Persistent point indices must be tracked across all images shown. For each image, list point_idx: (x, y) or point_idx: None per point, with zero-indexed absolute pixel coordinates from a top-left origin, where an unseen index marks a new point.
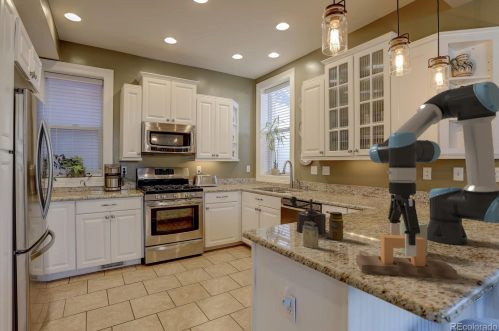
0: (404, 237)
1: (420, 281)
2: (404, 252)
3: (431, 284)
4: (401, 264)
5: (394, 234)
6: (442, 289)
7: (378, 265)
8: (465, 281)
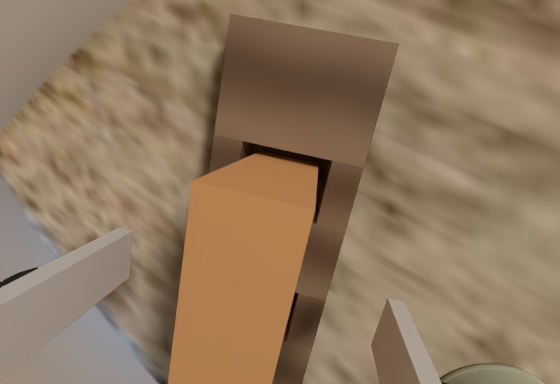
0: (204, 347)
1: (168, 233)
2: (480, 373)
3: (147, 253)
4: None
5: (395, 366)
6: None
7: (218, 105)
8: None
